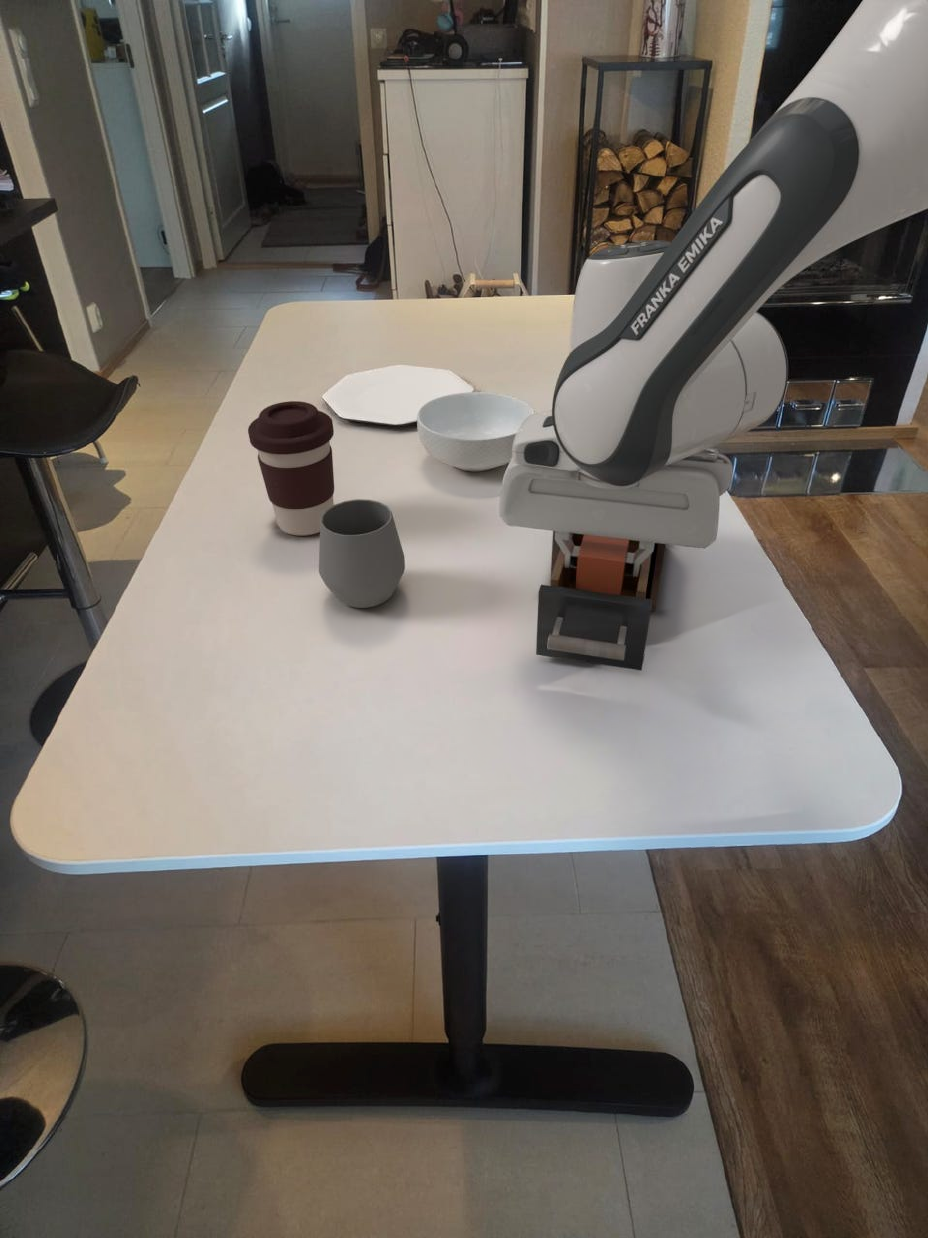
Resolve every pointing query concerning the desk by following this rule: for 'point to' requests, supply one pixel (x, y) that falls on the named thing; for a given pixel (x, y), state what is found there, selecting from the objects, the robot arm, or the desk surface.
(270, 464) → the coffee cup
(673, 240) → the robot arm
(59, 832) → the desk surface
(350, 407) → the plate
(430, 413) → the cereal bowl
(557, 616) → the drawer
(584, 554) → the block
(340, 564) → the cup
